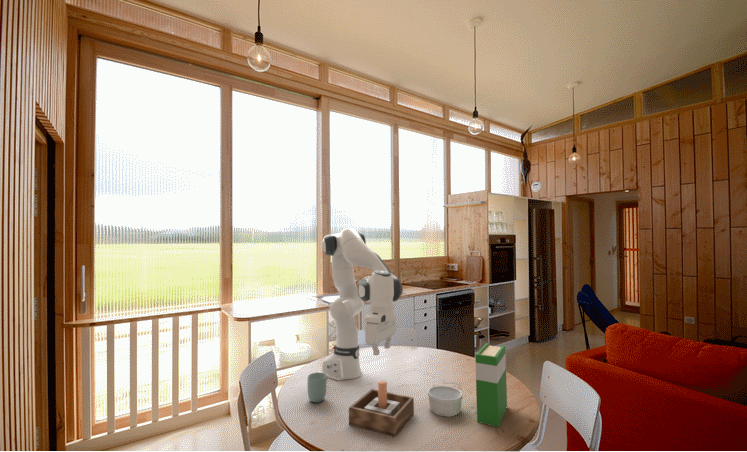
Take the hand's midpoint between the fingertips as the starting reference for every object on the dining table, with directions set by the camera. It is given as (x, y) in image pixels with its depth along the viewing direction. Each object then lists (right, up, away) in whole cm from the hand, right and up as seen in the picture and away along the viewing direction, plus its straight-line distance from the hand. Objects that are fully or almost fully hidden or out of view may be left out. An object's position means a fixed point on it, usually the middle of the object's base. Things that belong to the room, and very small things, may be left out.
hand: (381, 351), depth 127 cm
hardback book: (+42, -25, +2) cm, 49 cm away
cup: (-27, -26, +14) cm, 40 cm away
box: (0, -24, -2) cm, 24 cm away
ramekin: (+25, -25, +5) cm, 36 cm away
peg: (0, -23, -2) cm, 23 cm away
